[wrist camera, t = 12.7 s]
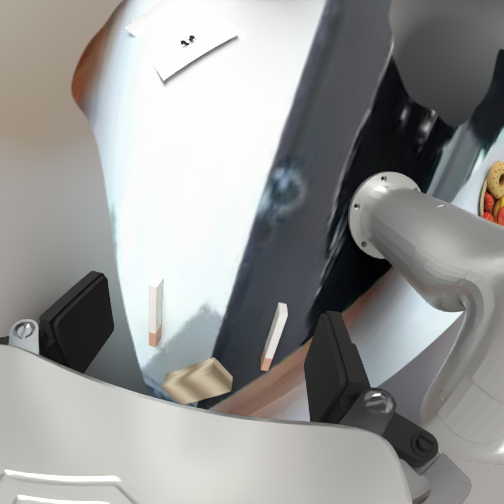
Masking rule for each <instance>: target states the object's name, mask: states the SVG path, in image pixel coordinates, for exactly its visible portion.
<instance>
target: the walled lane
mask: <svg viewBox="0 0 504 504" xmlns="http://www.w3.org/2000/svg"><path fill="white" fill-rule="evenodd" d="M162 292H163V278H162V277H158V276H156V277H155V278H154V280H153V281H152V282H151V284H150V285H149V345H150V346H154V347H156V345H157V343H158V341H159V339H160V337H161V315H162ZM287 316H288V313H287V306H286V304H283V303H278V307H277V310H276V313H275V316H274V319H273V323H272V326H271V329H270V332H269V335H268V338H267V341H266V344H265V347H264V350H263V353H262V356H261V370H264V371H268V369H269V366H270V363H271V361H272V358H273V355H274V353H275V350H276V347H277V344H278V342H279V339H280V336H281V333H282V330H283V327H284V325H285V322H286V319H287Z"/></svg>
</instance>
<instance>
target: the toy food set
mask: <svg viewBox="0 0 504 504" xmlns="http://www.w3.org/2000/svg"><path fill="white" fill-rule="evenodd" d="M480 215H481V217H482V218H484V219H486V220H489V221H491V222H494V223H496V224H499V225H502V226H504V163H503V162H501V161H497V162H495V163H494V164H493V165H492V167H491V169H490V171H489V175H488V177H487V178H486V180H485V183H484V185H483V188H482V192H481V197H480Z"/></svg>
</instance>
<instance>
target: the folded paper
mask: <svg viewBox="0 0 504 504" xmlns="http://www.w3.org/2000/svg"><path fill="white" fill-rule="evenodd" d="M190 1H191V0H163V1H162V2H160V3H159V4H157V5H156V6H154V7H153V8H151V9H150V10H148V11H147V12H145V13H144V14H142V15H141V16H140V17H138V18H137V19H135V20H134V21H133V22H131V23H130V24H129V25H127V26H126V27H125V28H126V29H127V30H128V31H129V32H130V33H131V34H132V35H133V36H135V37H136V36H138V35H139V34H140V33H142V32H143V31H145V30H146V29H147V28H149V27H150V26H152V25H153V24H154V23H156V22H157V21H159V20H160V19H162V18H163V17H165V16H166V15H168V14H170V13H171V12H173V11H174V10H176V9H178V8H179V7H181V6H183V5H184V4H186V3H188V2H190ZM238 34H239V33H238V32H237V31H236V29H235V28H234V27H233V26H232V25H231V24H230V23H229V22H228V21H227V20H225V21H223V22H221V23H219V24H217V25H215V26H213V27H211V28H210V29H208V30H206V31H204V32H203V33H201V34H199V35H197V36H196V37H194V36H190V39H189V41H188V42H185V41H181V44H182V45H181V46H180V47H178V48H177V49H175V50H174V51H172V52H171V53H169V54H168V55H166V56H165V57H164V58H162V59H161V60H159V61H158V62H157V63H155V64H154V67H155V68H156V70H157V71H158V73H159V74H160V76H161V78H162V79H163V81H164V80H165V79H167V78H168V77H169V76H171V75H172V74H174V73H175V72H176V71H178V70H179V69H181V68H182V67H184V66H185V65H187V64H188V63H190V62H191V61H193V60H195V59H196V58H198V57H199V56H201V55H203V54H204V53H206V52H208V51H209V50H211V49H213V48H214V47H216V46H218V45H220V44H221V43H223V42H225V41H227V40H229V39H230V38H232V37H234V36H236V35H238Z"/></svg>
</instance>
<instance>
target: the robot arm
mask: <svg viewBox="0 0 504 504" xmlns="http://www.w3.org/2000/svg"><path fill="white" fill-rule="evenodd" d="M382 177H383V179H382V180H381V178H382ZM413 189H414V190H413ZM355 204H356V205H357V206H356V207H354V205H355ZM348 225H349V230H350V233H351V235H352V238H353V239H354V241H355V242H356V244H357V245H358V246H359V248H360V249H361V250H363V251H364V252H365V253H366V254H368V255H370V256H372V257H375V258H380V259H387V260H388V261H389V262H390V264H391V265H392V266H393V267H394V268H395V269H396V270H397V271H398V272H399V273H400V274H401V275H402V276H403V277H404V278H405V279H406V281H407V282H408V283H409V284H410V285H411V286H412V287H413V288H414V289H415V290H416V292H417V293H418V294H419V295H420V296H421V297H422V298H423V299H424V300H425V301H426V302H427V303H428V304H429V305H431V306H432V307H434V308H436V309H438V310H441V311H444V312H459V311H465V310H466V314H465V319H464V322H463V324H462V326H461V329H460V331H459V333H458V335H457V338H456V341H455V343H454V345H453V346H452V349H451V350H450V352H449V354H448V356H447V358H446V359H445V361H444V363H443V365H442V366H441V368H440V370H439V372H438V373H437V375H436V376H435V378H434V380H433V382H432V383H431V385H430V387H429V389H428V390H427V393H426V394H425V396H424V399H423V402H422V405H421V410H420V423H421V427H419V426H417V425H416V424H414V423H412V422H411V421H409V420H407V419H406V418H404V417H402V416H400V415H399V414H397V413H396V412H395V410H396V402H395V399H394V397H393V396H392V395H391V394H390V393H388V392H387V391H385V390H383V389H380V388H371V387H370V384H369V381H368V378H367V375H366V372H365V369H364V366H363V364H362V361H361V358H360V355H359V353H358V350H357V347H356V345H355V344H352V343H351V340H350V337H349V334H348V332H347V329H346V326H345V324H344V321H343V318H342V316H341V313H340V312H333V311H326V313H325V314H321V316H320V318H319V321H318V324H317V327H316V330H315V333H314V336H313V339H312V342H311V345H310V348H309V351H308V353H307V356H306V359H305V363H304V371H305V379H306V387H307V395H308V404H309V413H310V422H306V421H290V420H278V419H268V418H258V417H250V416H242V415H235V414H228V413H222V412H216V411H210V410H205V409H200V408H195V407H190V406H186V405H181V404H177V403H173V402H169V401H165V400H161V399H157V398H153V397H150V396H146V395H143V394H139V393H136V392H133V391H129V390H126V389H123V388H120V387H117V386H114V385H112V384H109V383H106V382H103V381H100V380H97V379H95V378H92V377H90V376H87V375H84V372H85V371H86V369H87V368H88V367H89V365H90V363H91V362H92V361H93V359H94V358H95V356H96V355H97V353H98V352H99V351H100V349H101V348H102V346H103V345H104V344H105V342H106V341H107V339H108V338H109V337H110V335H111V334H112V332H113V330H114V323H113V317H112V310H111V303H110V297H109V288H108V280H107V278H106V277H105V276H104V274H103V273H100V272H95V271H91V272H90V273H89V274H87V275H86V276H85V277H84V278H83V279H81V280H80V281H79V282H78V283H77V284H76V285H74V286H73V287H72V288H71V289H70V290H69V291H68V292H67V293H65V294H64V295H63V296H62V297H61V298H60V299H59V300H57V301H56V302H55V303H54V304H53V305H52V306H51V307H50V308H49V309H48V310H46V311H45V312H44V314H42V315H41V316H40V317H39V319H40V324H39V325H38V324H37V323H36V322H35V321H34V320H30V319H24V320H21V321H18V322H17V323H15V324H14V325H13V326H12V328H11V330H10V335H9V336H6V337H1V338H0V504H462V503H463V502H464V501H465V499H466V498H467V497H468V495H469V494H470V491H471V487H472V484H471V481H470V479H469V478H468V476H466V474H465V473H463V472H462V471H461V469H459V468H458V467H457V466H456V465H455V464H454V463H453V462H452V461H451V460H450V459H449V458H448V457H447V456H450V457H452V458H455V459H458V460H463V461H468V462H474V463H482V464H493V465H504V226H502V225H499V224H496V223H494V222H491V221H489V220H486V219H484V218H482V217H480V216H477V215H475V214H473V213H471V212H468V211H466V210H464V209H461V208H459V207H457V206H454V205H452V204H449V203H447V202H445V201H442V200H440V199H437V198H434V197H432V196H429V195H427V194H424V193H421V191H420V189H419V187H418V186H417V185H416V184H415V182H413V181H412V180H411V179H410V178H409V177H407V176H405V175H403V174H400V173H396V172H381V173H377V174H374V175H373V176H371V177H369V178H367V179H366V180H365V181H364V182H363V183H361V185H360V186H359V187H358V188H357V190H356V191H355V193H354V195H353V197H352V199H351V202H350V205H349V211H348ZM363 241H364V242H363ZM362 242H363V243H362ZM361 243H362V244H361ZM438 451H440V452H442V454H441V455H440V454H439V453H438ZM446 455H447V456H446Z"/></svg>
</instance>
